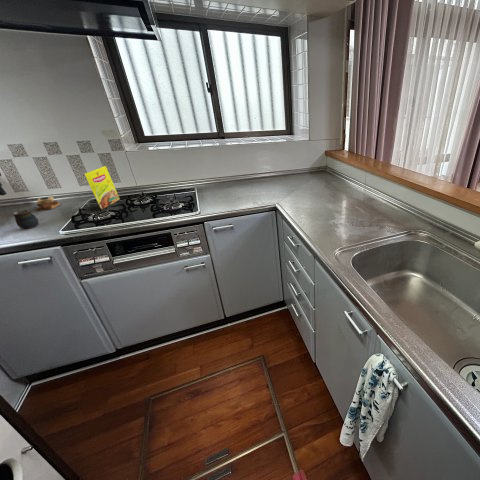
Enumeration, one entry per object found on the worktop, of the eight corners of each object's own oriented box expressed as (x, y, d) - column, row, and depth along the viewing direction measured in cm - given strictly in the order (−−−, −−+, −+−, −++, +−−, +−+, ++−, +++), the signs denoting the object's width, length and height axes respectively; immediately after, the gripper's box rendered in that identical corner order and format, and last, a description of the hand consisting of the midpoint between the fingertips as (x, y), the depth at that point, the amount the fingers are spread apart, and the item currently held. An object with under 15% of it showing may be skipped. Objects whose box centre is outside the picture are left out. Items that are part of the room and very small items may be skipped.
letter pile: (33, 210, 146) (28, 201, 143) (48, 204, 154) (42, 195, 151) (51, 210, 146) (45, 201, 143) (64, 203, 154) (59, 195, 151)
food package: (102, 209, 146) (85, 173, 136) (100, 209, 146) (83, 173, 136) (120, 199, 159) (106, 165, 149) (118, 199, 159) (104, 165, 149)
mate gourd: (39, 222, 133) (27, 203, 128) (42, 226, 129) (30, 207, 124) (19, 227, 129) (6, 208, 123) (21, 232, 124) (8, 212, 119)
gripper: (-48, 150, 94) (-4, 204, 110) (-12, 136, 104) (24, 187, 120) (-71, 146, 94) (-23, 201, 110) (-33, 132, 103) (6, 184, 119)
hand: (1, 194), depth 115 cm, fingers closed
